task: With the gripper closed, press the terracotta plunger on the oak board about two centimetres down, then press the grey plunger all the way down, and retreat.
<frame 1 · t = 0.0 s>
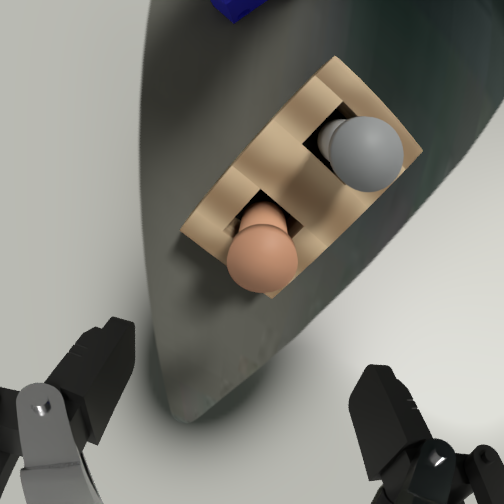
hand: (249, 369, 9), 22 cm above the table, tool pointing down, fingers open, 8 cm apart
oak board: (297, 173, 28), on the table
grey plunger: (352, 147, 20), point 7 cm above the table, slide at 0.0 cm
terracotta plunger: (262, 239, 24), point 7 cm above the table, slide at 0.0 cm
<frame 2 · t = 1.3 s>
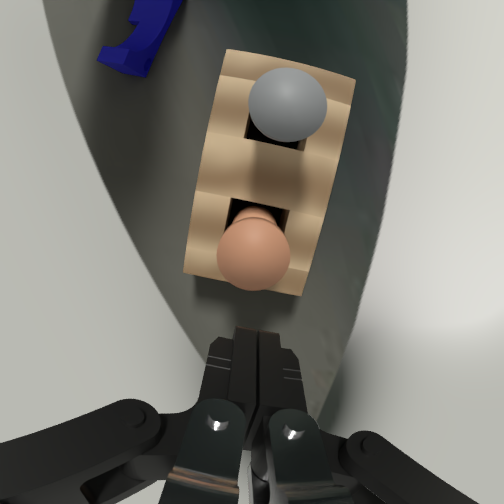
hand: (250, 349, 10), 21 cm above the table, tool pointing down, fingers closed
oak board: (265, 170, 28), on the table
grey plunger: (282, 111, 20), point 7 cm above the table, slide at 0.0 cm
terracotta plunger: (253, 240, 23), point 7 cm above the table, slide at 0.0 cm
cable clip: (150, 27, 23), on the table
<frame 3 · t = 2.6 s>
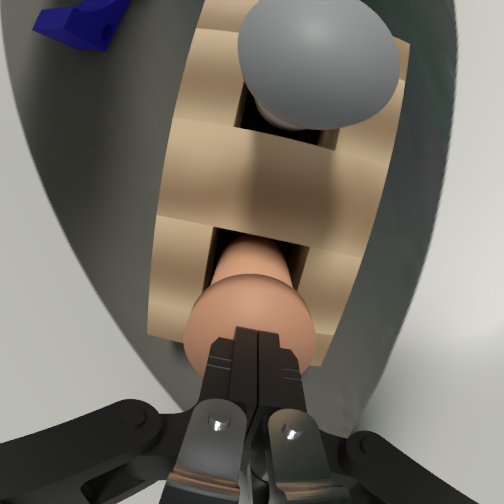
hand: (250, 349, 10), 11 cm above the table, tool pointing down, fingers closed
oak board: (269, 178, 19), on the table
grey plunger: (303, 78, 10), point 7 cm above the table, slide at 0.0 cm
terracotta plunger: (251, 298, 14), point 7 cm above the table, slide at 0.4 cm, touching gripper
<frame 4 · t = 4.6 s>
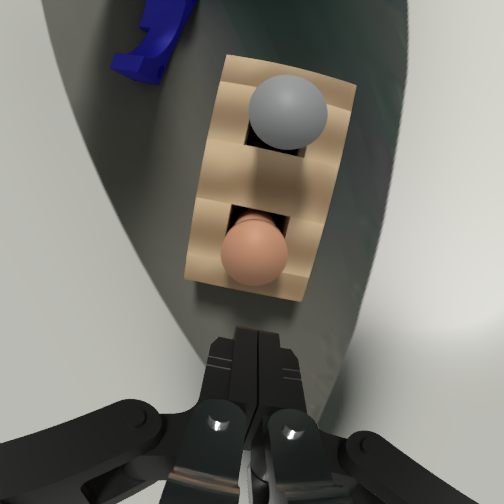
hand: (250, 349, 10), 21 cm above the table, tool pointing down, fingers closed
oak board: (265, 176, 29), on the table
grey plunger: (283, 118, 20), point 7 cm above the table, slide at 0.0 cm
terracotta plunger: (254, 240, 25), point 5 cm above the table, slide at 2.0 cm
cable clip: (161, 33, 24), on the table
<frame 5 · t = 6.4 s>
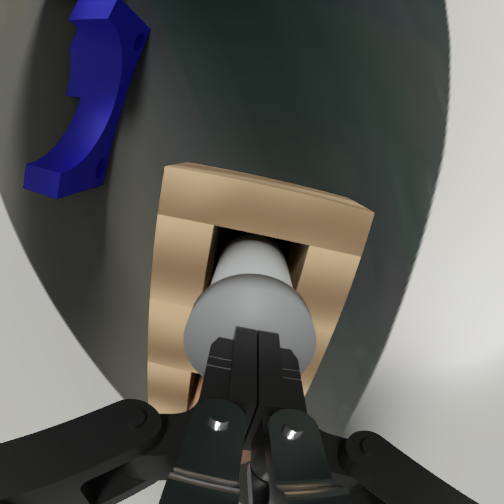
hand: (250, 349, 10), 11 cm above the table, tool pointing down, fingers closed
oak board: (239, 310, 22), on the table
grey plunger: (251, 298, 14), point 7 cm above the table, slide at 0.2 cm, touching gripper
terracotta plunger: (222, 406, 19), point 5 cm above the table, slide at 2.0 cm
cable clip: (100, 100, 18), on the table
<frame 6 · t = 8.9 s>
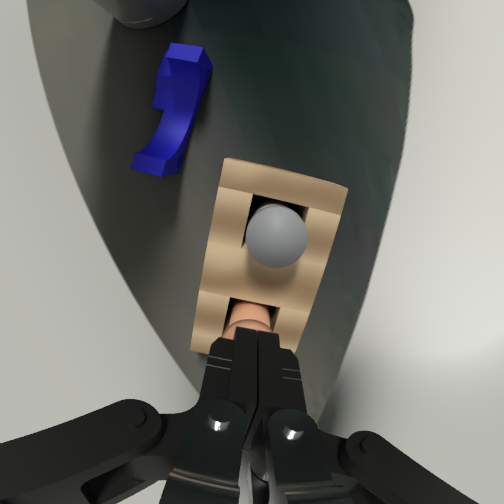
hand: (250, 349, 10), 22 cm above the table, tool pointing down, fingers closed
oak board: (261, 260, 32), on the table
grey plunger: (274, 226, 27), point 5 cm above the table, slide at 2.8 cm
terracotta plunger: (249, 325, 29), point 5 cm above the table, slide at 2.0 cm
cable clip: (175, 113, 28), on the table
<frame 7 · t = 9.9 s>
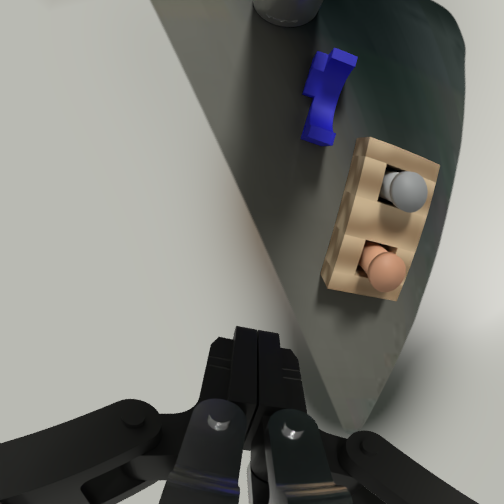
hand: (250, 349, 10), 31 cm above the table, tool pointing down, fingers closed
oak board: (374, 217, 40), on the table
grey plunger: (397, 187, 34), point 5 cm above the table, slide at 2.8 cm
terracotta plunger: (377, 262, 36), point 5 cm above the table, slide at 2.0 cm
cable clip: (317, 100, 35), on the table
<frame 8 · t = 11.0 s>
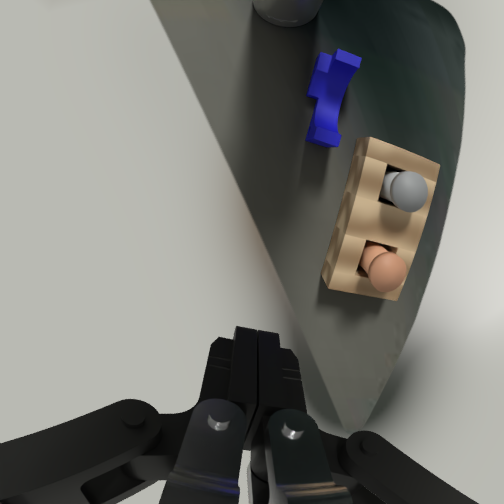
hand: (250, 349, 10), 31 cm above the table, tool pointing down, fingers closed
oak board: (374, 216, 40), on the table
grey plunger: (397, 187, 34), point 5 cm above the table, slide at 2.8 cm
terracotta plunger: (377, 262, 36), point 5 cm above the table, slide at 2.0 cm
cable clip: (321, 101, 35), on the table
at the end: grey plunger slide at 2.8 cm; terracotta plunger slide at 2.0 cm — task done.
